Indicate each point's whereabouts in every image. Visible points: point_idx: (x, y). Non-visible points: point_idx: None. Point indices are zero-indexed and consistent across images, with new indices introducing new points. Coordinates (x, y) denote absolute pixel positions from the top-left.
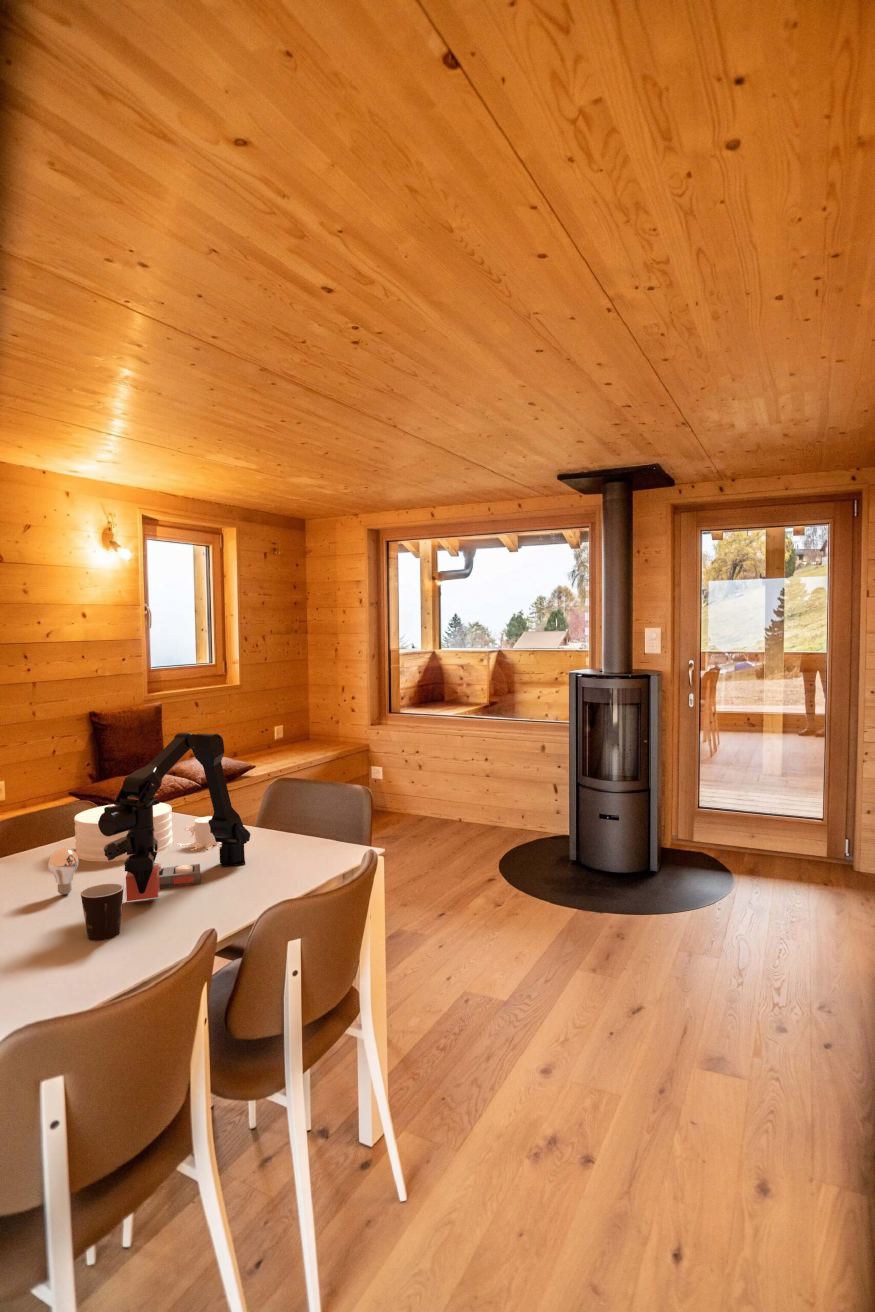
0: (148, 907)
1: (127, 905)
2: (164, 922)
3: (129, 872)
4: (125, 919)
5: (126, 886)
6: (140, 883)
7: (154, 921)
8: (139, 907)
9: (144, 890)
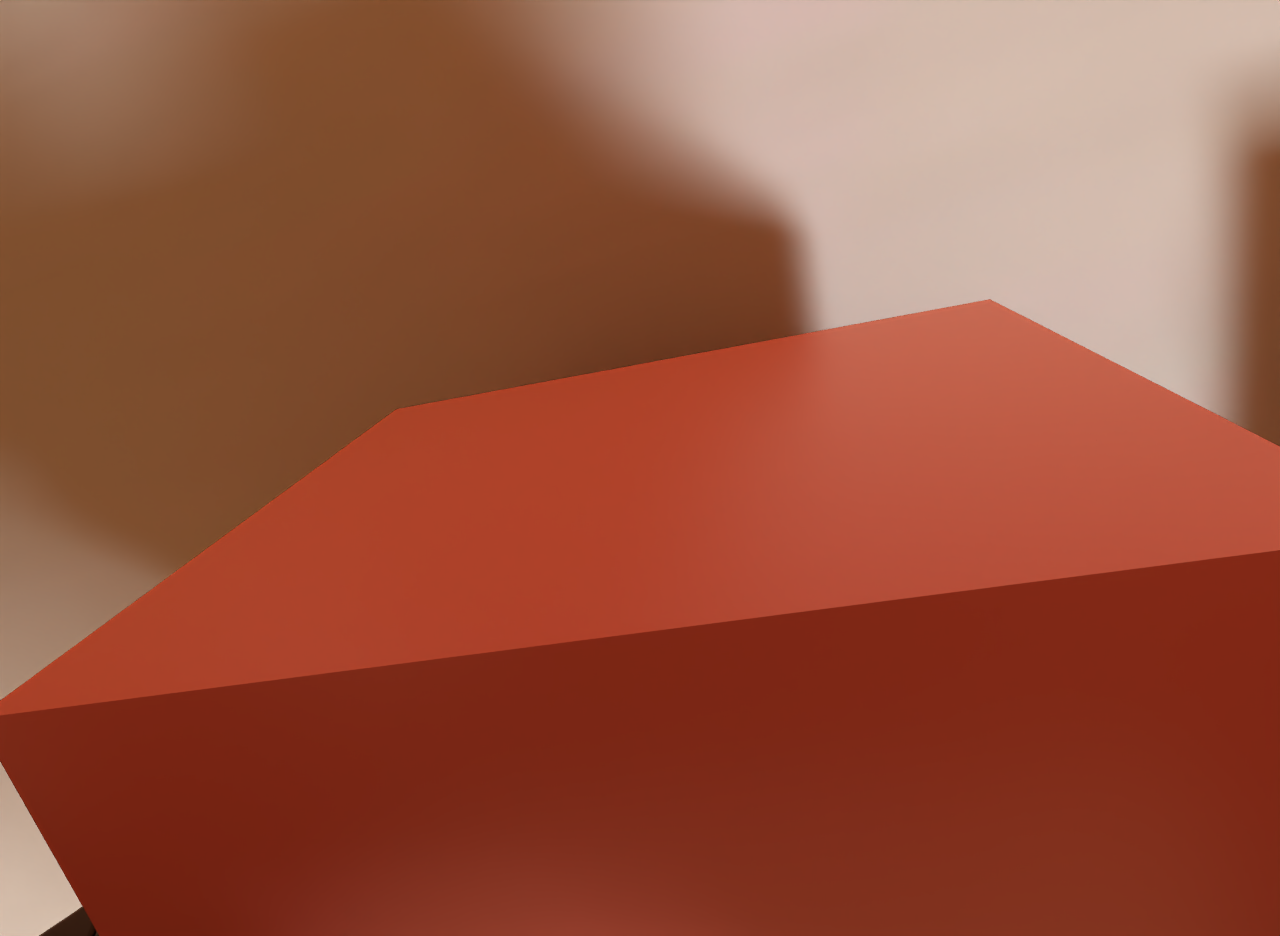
0: None
1: (640, 320)
2: (38, 903)
3: (560, 734)
4: (66, 467)
5: (229, 541)
6: None
7: None
8: None
9: None
